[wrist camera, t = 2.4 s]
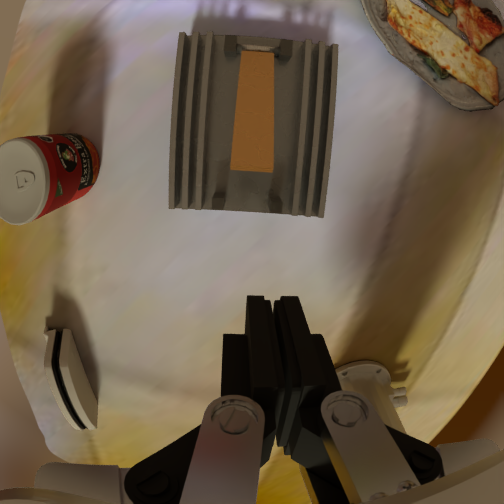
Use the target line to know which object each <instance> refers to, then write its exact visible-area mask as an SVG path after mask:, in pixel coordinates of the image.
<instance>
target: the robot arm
mask: <svg viewBox="0 0 504 504" xmlns="http://www.w3.org/2000/svg"><path fill="white" fill-rule="evenodd" d="M390 384H391V377H390V374H389V372H388V370H387V369H386V368H385V366H384V365H382V364H380V363H378V362H375V361H357V362H352V363H349V364H346V365H343V366H341V367H339V368H337V369H335V368H334V365H333V362H332V360H331V357H330V354H329V351H328V349H327V346H326V343H325V341H324V338H323V336H322V335H321V334H310V330H309V327H308V324H307V321H306V318H305V315H304V312H303V309H302V306H301V303H300V300H299V298H298V296H281V298H280V300H275V301H274V308H273V312H272V307H271V302H270V300H265V299H264V296H251V295H247V303H246V321H245V334H223V353H222V378H221V397H219V398H217V399H215V400H213V401H212V402H211V403H210V404H209V405H208V407H207V409H206V411H205V413H204V417H203V420H202V424H200V425H199V426H197V427H196V428H194V429H193V430H191V431H190V432H188V433H187V434H185V435H184V436H182V437H181V438H179V439H177V440H176V441H174V442H173V443H171V444H169V445H168V446H166V447H164V448H163V449H161V450H159V451H158V452H156V453H154V454H153V455H151V456H149V457H148V458H146V459H144V460H142V461H141V462H139V463H137V464H136V465H134V466H133V467H132V468H119V466H118V465H87V464H71V463H59V462H51V463H47V464H45V465H43V466H41V467H40V468H39V470H38V471H37V474H36V477H35V485H34V488H29V487H27V488H9V489H4V490H0V504H256V497H257V489H258V480H259V471H260V468H261V467H262V466H263V465H264V464H265V463H266V462H267V461H268V460H269V458H270V454H271V450H272V447H273V444H274V440H275V435H276V441H277V446H278V447H282V446H283V448H284V455H291V459H293V460H294V461H296V462H297V463H299V468H300V472H301V475H302V477H303V480H304V483H305V486H306V488H307V491H308V494H309V496H310V499H311V502H312V504H504V449H503V450H501V451H500V450H499V448H498V446H497V444H496V443H494V442H493V441H492V440H489V439H478V440H472V441H466V442H458V443H450V444H441V445H438V446H437V447H436V448H434V447H432V446H431V445H429V444H427V443H425V442H422V441H420V440H418V439H416V438H413V437H411V436H409V435H407V434H406V431H405V429H404V427H403V425H402V423H401V421H400V418H399V416H398V414H397V412H396V410H395V408H394V407H402V406H406V405H407V402H408V400H407V396H406V395H405V394H406V388H405V387H400V388H396V389H393V388H392V387H391V386H390ZM394 396H395V397H394Z"/></svg>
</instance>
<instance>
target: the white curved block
mask: <svg viewBox="0 0 504 504" xmlns="http://www.w3.org/2000/svg"><path fill="white" fill-rule="evenodd" d="M44 336H45V339H46V342H47V346H46V352H45V358H44V368H45V372H46V375H47V379H48V382H49V385H50V387H51V390H52V393H53V395H54V397H55V400H56V402H57V404H58V406H59V408H60V410H61V411H62V413H63V415H64V416H65V418H66V419H67V421H68V422H69V423H70V424H71V425H72V426H73V427H74V428H75V429H77V430H84V429H85V428H87V429H89V430H93V429H96V428H97V415H98V403H97V400H96V398H95V396H94V393H93V391H92V388H91V386H90V383H89V381H88V378H87V376H86V373H85V370H84V368H83V365H82V362H81V359H80V356H79V354H78V351H77V348H76V345H75V342H74V338H73V335H72V332H71V330H69V329H63V331H61V337H60V335H59V332H57V331H56V329H54V330H51V331H49V328H48V326H47V327H45V330H44Z"/></svg>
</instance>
